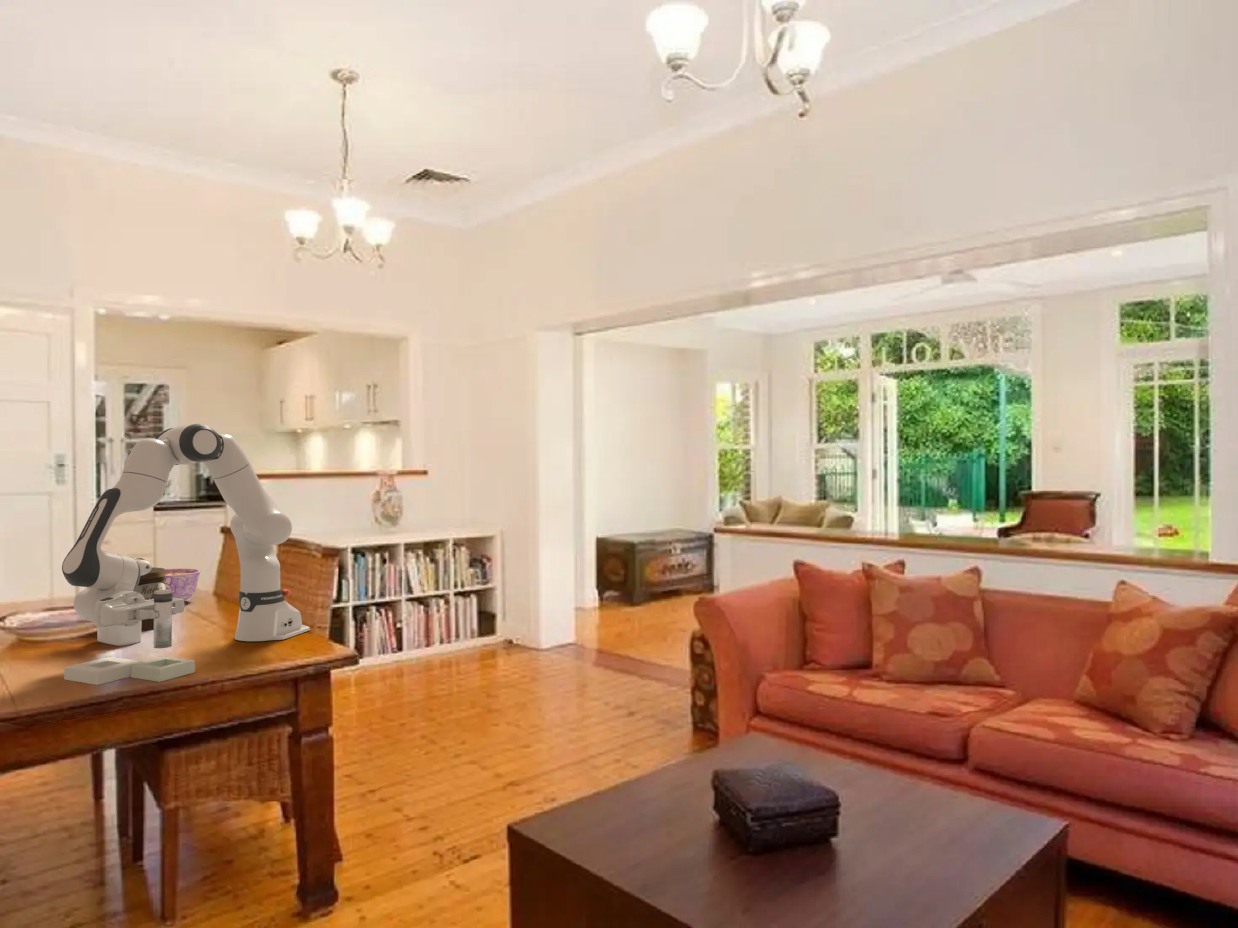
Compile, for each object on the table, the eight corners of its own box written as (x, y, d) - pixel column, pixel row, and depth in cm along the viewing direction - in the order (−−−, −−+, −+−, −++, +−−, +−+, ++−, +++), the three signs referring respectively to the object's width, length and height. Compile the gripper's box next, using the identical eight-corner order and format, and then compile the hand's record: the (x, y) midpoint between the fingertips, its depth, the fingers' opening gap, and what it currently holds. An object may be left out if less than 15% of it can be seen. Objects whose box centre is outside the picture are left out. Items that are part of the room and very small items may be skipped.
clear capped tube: (164, 644, 215) (164, 589, 215) (175, 645, 214) (176, 590, 214) (149, 647, 211) (149, 591, 211) (161, 649, 210) (161, 592, 210)
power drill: (132, 650, 238) (132, 561, 238) (87, 640, 251) (87, 556, 251) (162, 644, 246) (162, 558, 245) (117, 635, 258) (117, 553, 258)
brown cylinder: (129, 633, 261) (129, 562, 261) (102, 628, 269) (102, 558, 269) (175, 625, 274) (175, 557, 274) (148, 620, 282) (148, 554, 282)
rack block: (166, 668, 219) (166, 656, 219) (194, 672, 215) (194, 660, 215) (131, 677, 210) (131, 665, 210) (160, 681, 206) (159, 669, 206)
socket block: (110, 668, 219) (110, 656, 219) (143, 673, 214) (143, 661, 214) (64, 679, 208) (64, 667, 208) (97, 684, 203) (97, 672, 203)
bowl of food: (157, 610, 300) (157, 577, 300) (128, 604, 311) (128, 572, 311) (211, 602, 317) (211, 571, 317) (181, 596, 328) (181, 567, 328)
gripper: (162, 613, 227) (200, 618, 222) (89, 627, 208) (128, 633, 203) (162, 590, 227) (200, 594, 222) (89, 602, 208) (128, 606, 203)
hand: (165, 612), depth 212 cm, fingers closed on clear capped tube, 4 cm apart
